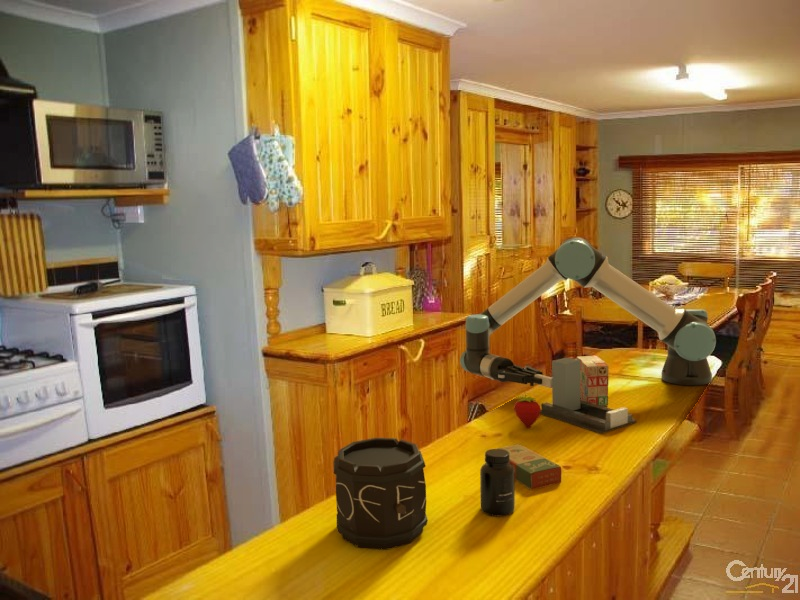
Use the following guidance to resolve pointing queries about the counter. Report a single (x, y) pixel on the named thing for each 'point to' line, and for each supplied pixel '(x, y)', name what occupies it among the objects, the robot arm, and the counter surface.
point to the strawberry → (527, 410)
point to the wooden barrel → (380, 493)
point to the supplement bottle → (497, 483)
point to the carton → (532, 467)
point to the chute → (590, 416)
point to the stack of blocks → (593, 380)
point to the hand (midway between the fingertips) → (552, 383)
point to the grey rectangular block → (566, 383)
